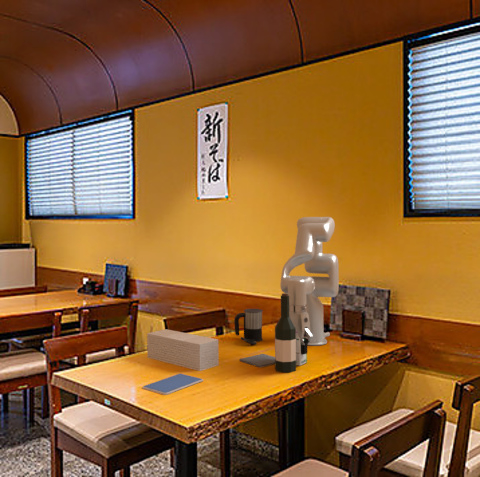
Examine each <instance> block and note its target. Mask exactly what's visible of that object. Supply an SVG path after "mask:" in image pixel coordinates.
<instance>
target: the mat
mask: <svg viewBox="0 0 480 477" xmlns="http://www.w3.org/2000/svg"><path fill="white" fill-rule="evenodd" d="M239 361H240V362H242V363H246V364H248V365H250V366H251V365H252V366H254V365H255V366H254V367H257V368H264V367H268V366H271V365H275V356H272V355H268V354H266V353H259V354H256V355H251V356H247V357H242V358H239Z"/></svg>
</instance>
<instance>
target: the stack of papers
mask: <svg viewBox="0 0 480 477" xmlns="http://www.w3.org/2000/svg"><path fill="white" fill-rule="evenodd" d="M146 335H147V336H146V338H147V340H146V341H147V345H146V346H147V358H148V359H152V360H156V361H160V362H164V363H167V364H171V365H175V366H178V367H182V368H186V369H191V370H194V371H198V372H202V371H204V370H208V369H211V368H214V367H217V366H220V365H219V362H220V361H219V356H220V355H219V339H218V338H217V339H216V338H211V337H208V336H204V335H203V336H202V335H199V334H198V335H197V334H192V333H188V332H183V331H178V330H172V329H160V330H156V331H152V332H147V333H146Z"/></svg>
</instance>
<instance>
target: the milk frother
mask: <svg viewBox="0 0 480 477" xmlns="http://www.w3.org/2000/svg"><path fill="white" fill-rule="evenodd" d="M243 311H244V312H239V313H237V314H236V315H235V317H234V322H233V323H234V334H235V335H236V337H238V336H239V335H240V319H241V318H243V337H240V340H241V341H243V342H246V343H247V344H249V345H251V346H253V345H256V344H257V343H258V342H262V341H263V329H262V328H263V309H259V308H246V309H244V310H243Z"/></svg>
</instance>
